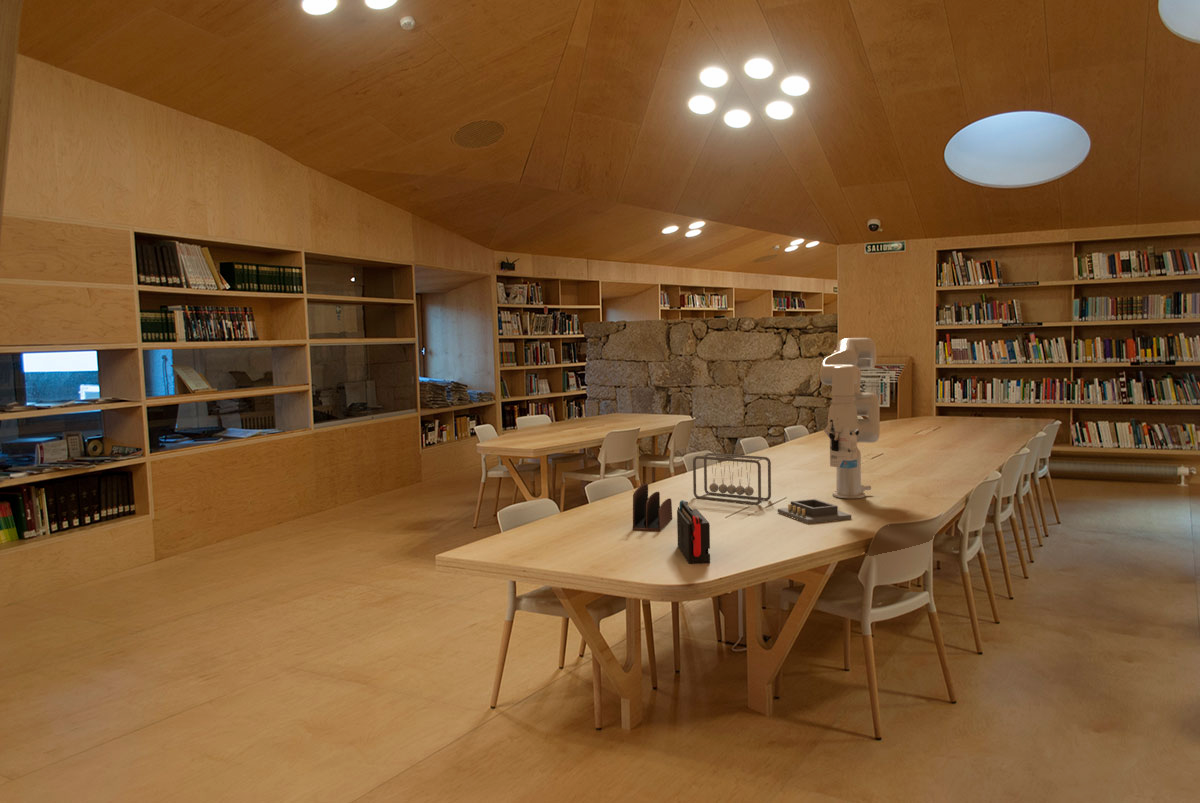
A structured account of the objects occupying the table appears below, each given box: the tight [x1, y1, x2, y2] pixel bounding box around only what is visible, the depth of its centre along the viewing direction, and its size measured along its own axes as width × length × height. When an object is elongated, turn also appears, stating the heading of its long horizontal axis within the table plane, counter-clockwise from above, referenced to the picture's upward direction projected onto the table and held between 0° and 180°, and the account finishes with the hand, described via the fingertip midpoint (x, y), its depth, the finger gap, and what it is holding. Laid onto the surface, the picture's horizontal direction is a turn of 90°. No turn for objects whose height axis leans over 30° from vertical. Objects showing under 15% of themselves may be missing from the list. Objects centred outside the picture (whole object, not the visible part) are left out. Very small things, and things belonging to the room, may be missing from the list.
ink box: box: [829, 427, 858, 469], centre depth 292 cm, size 8×5×15 cm, turn 41°
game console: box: [676, 499, 711, 565], centre depth 248 cm, size 28×6×15 cm, turn 4°
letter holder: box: [632, 483, 673, 532], centre depth 289 cm, size 10×20×14 cm, turn 163°
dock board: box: [777, 498, 852, 524], centre depth 296 cm, size 18×20×4 cm
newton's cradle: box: [692, 452, 772, 505], centre depth 329 cm, size 30×10×18 cm, turn 54°
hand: (843, 449), depth 292 cm, fingers closed on ink box, 6 cm apart
